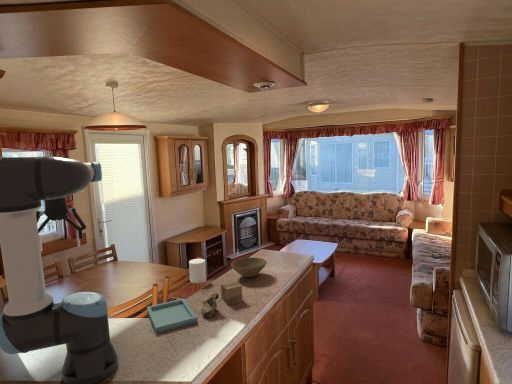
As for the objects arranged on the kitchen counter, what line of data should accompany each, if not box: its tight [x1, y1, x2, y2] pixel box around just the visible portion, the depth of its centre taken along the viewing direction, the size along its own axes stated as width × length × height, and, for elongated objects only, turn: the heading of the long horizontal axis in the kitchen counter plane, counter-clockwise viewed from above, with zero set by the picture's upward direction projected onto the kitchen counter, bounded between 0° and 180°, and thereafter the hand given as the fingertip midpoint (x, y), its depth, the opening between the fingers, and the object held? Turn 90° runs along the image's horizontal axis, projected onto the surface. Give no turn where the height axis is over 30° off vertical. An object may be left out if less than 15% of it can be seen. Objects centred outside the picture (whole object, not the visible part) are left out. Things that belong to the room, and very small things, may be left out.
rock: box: [200, 292, 220, 318], centre depth 135 cm, size 9×7×10 cm
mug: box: [188, 258, 207, 284], centre depth 172 cm, size 8×10×12 cm
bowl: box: [230, 257, 268, 278], centre depth 173 cm, size 18×18×8 cm
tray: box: [146, 298, 198, 334], centre depth 133 cm, size 19×15×2 cm
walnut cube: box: [220, 280, 243, 306], centre depth 146 cm, size 7×7×7 cm
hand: (60, 249), depth 136 cm, fingers open, 13 cm apart
